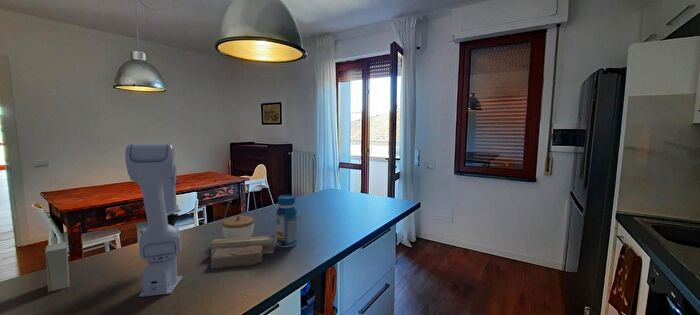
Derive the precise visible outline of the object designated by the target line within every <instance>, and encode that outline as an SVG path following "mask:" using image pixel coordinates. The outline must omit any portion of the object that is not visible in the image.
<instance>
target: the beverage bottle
mask: <svg viewBox="0 0 700 315" xmlns="http://www.w3.org/2000/svg"><path fill="white" fill-rule="evenodd" d="M277 198H278V199H277V204H278V208H277V210H276V216H277V217H276V219H275V221H276V244H277V245H276V246H278V247H281V248H290V247H294V246H295V245H297V243H298V216H297V213H298V211H297V209H296V206H295V204H296V196H294V195H292V194H284V195H283V194H282V195H280V196H278V197H277Z"/></svg>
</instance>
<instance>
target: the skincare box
mask: <svg viewBox="0 0 700 315" xmlns="http://www.w3.org/2000/svg"><path fill="white" fill-rule="evenodd" d="M44 250H45V252H44V253H45V266H46V267H45V268H46V283H47V293H51V292H55V291H58V290H62V289H66V288H69V287H70V273H69V270H70V269H69V254H68V252H69V251H68V242H67V241H64V242H59V243H58V242H57V243H54V244H47V245H46V247H45V249H44Z"/></svg>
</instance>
